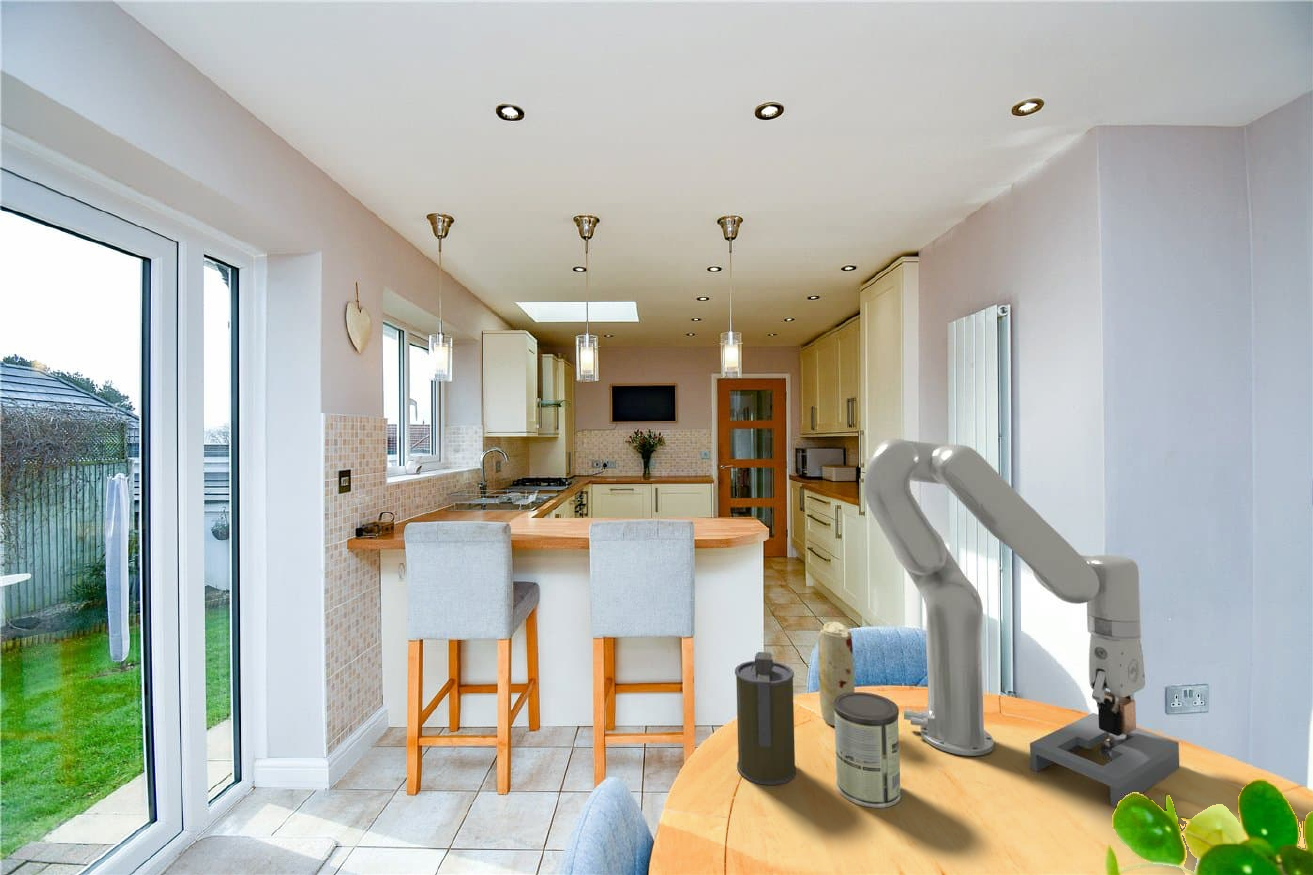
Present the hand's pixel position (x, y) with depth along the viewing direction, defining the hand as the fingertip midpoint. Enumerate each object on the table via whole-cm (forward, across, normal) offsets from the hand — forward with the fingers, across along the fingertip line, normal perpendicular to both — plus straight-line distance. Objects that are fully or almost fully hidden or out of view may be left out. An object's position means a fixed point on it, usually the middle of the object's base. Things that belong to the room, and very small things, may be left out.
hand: (1116, 727), depth 104 cm
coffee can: (+6, -45, +17) cm, 48 cm away
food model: (+6, -31, +37) cm, 48 cm away
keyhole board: (+6, -5, 0) cm, 8 cm away
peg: (+5, 0, 0) cm, 5 cm away
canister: (+6, -55, +30) cm, 63 cm away
